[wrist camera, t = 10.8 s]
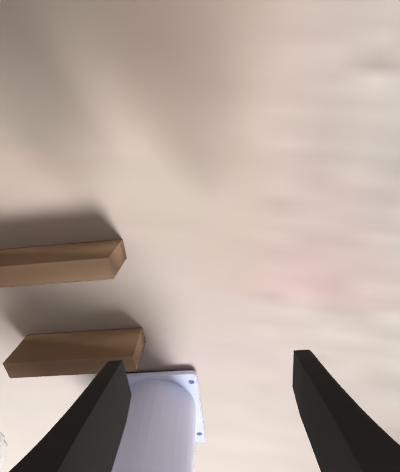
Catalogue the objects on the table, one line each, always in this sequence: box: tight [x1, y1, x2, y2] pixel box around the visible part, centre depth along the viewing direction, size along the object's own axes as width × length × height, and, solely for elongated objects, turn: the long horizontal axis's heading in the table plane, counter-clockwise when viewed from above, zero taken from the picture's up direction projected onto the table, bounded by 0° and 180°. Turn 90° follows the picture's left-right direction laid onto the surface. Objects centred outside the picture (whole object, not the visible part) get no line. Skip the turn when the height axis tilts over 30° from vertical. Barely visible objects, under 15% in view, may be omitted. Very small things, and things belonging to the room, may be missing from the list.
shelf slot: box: [0, 240, 145, 378], centre depth 20 cm, size 10×10×3 cm
